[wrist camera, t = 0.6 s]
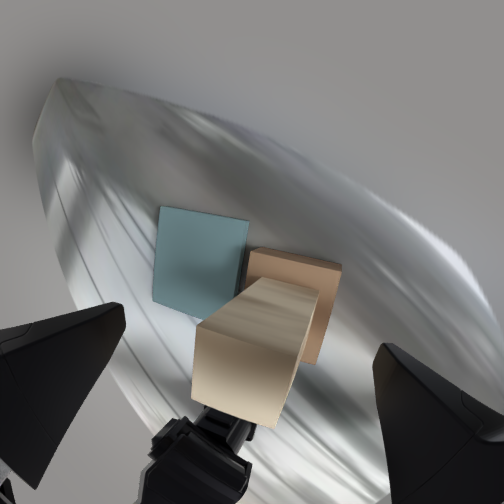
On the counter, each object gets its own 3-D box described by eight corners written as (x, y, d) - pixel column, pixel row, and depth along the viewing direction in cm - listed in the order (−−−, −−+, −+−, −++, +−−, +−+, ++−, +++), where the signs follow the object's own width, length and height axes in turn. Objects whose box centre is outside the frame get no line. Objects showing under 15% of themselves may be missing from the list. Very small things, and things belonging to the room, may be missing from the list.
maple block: (305, 343, 20) (274, 429, 11) (252, 328, 22) (191, 398, 12) (319, 290, 19) (297, 356, 10) (262, 277, 21) (196, 325, 11)
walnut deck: (318, 348, 23) (315, 364, 20) (247, 328, 25) (235, 342, 22) (341, 264, 22) (341, 271, 19) (261, 246, 24) (250, 251, 21)
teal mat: (232, 324, 26) (228, 328, 25) (158, 298, 28) (152, 301, 27) (249, 220, 24) (245, 221, 23) (166, 206, 26) (160, 206, 25)
